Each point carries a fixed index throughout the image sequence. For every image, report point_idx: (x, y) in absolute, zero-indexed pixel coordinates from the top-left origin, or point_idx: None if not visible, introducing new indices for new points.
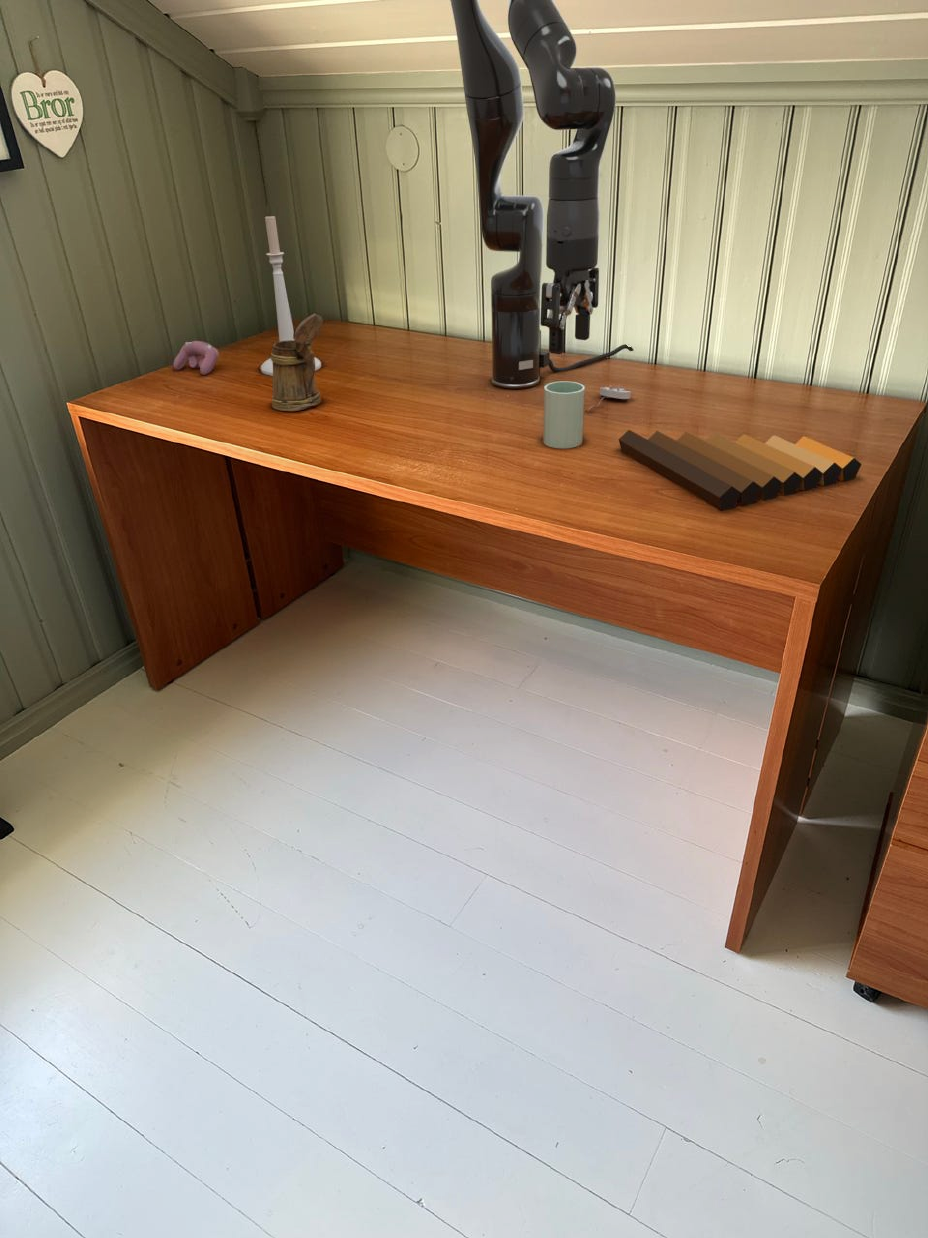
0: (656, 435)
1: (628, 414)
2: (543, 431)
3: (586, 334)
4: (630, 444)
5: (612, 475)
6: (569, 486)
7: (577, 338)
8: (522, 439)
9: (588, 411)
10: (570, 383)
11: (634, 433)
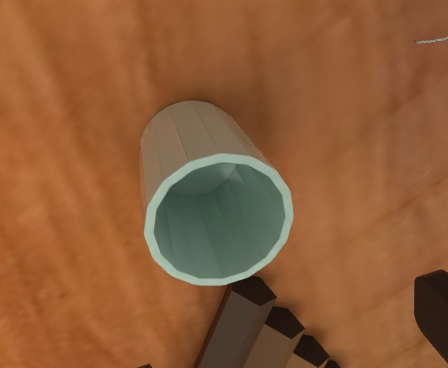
0: (278, 341)
1: (442, 130)
2: (150, 131)
3: (432, 343)
4: (220, 325)
5: (122, 340)
6: (9, 336)
7: (416, 285)
8: (122, 58)
9: (414, 41)
10: (280, 196)
11: (249, 325)
